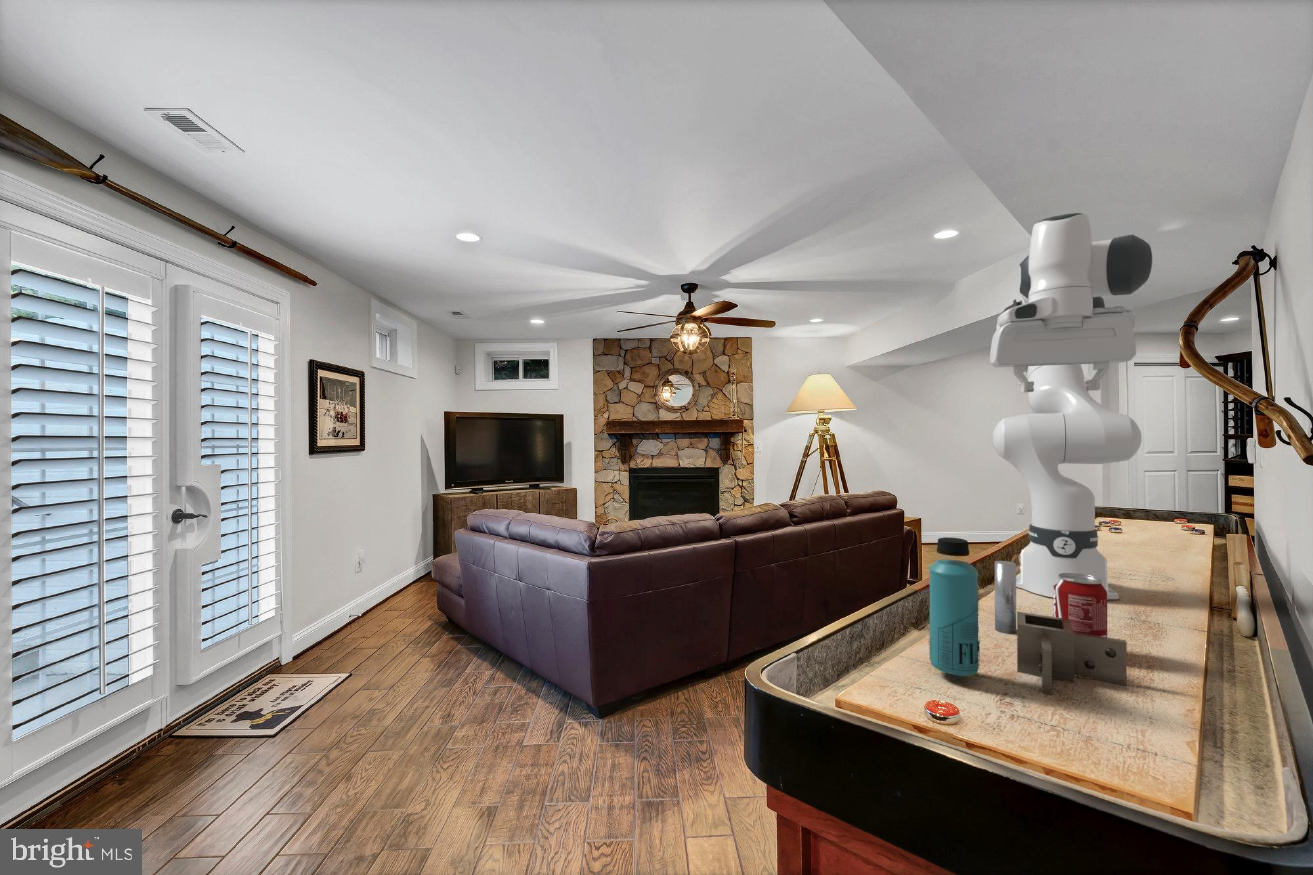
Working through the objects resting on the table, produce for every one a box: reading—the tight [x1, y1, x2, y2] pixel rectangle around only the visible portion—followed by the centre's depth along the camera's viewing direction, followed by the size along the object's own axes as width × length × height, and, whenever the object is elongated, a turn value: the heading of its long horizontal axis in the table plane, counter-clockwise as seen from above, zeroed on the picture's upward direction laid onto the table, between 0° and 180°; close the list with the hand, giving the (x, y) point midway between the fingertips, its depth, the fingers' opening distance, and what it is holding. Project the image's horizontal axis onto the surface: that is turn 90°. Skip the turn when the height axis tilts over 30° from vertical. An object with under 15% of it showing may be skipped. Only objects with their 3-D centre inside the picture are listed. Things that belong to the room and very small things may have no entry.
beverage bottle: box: [928, 536, 981, 677], centre depth 78 cm, size 6×7×20 cm
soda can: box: [1052, 573, 1108, 637], centre depth 86 cm, size 7×7×12 cm
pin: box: [994, 560, 1017, 635], centre depth 96 cm, size 3×3×12 cm
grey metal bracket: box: [1016, 611, 1128, 696], centre depth 76 cm, size 13×13×7 cm
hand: (1059, 391), depth 92 cm, fingers open, 8 cm apart
